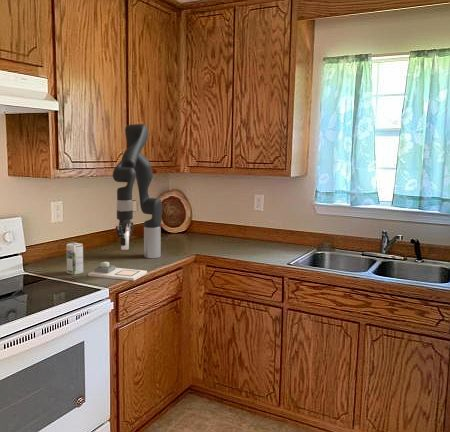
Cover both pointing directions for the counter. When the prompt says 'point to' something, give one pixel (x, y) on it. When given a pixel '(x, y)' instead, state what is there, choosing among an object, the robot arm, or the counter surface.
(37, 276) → the counter surface
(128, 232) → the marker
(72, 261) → the syrup box
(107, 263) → the button
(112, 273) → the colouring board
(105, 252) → the counter surface
